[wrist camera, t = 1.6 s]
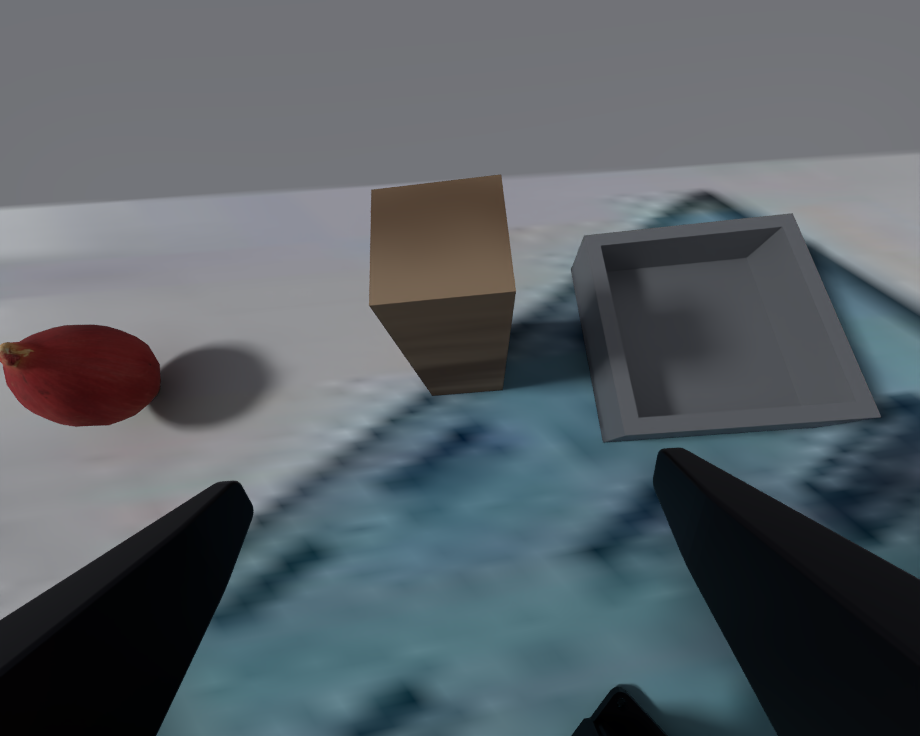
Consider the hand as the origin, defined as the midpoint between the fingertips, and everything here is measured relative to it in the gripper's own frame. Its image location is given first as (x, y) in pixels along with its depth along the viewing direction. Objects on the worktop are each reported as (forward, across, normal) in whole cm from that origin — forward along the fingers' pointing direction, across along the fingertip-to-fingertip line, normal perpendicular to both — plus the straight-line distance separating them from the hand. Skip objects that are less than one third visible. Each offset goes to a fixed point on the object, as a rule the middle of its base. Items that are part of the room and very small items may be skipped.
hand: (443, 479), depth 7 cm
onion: (+14, +21, +4) cm, 26 cm away
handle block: (+15, 0, +4) cm, 15 cm away
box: (+15, -13, +4) cm, 20 cm away
